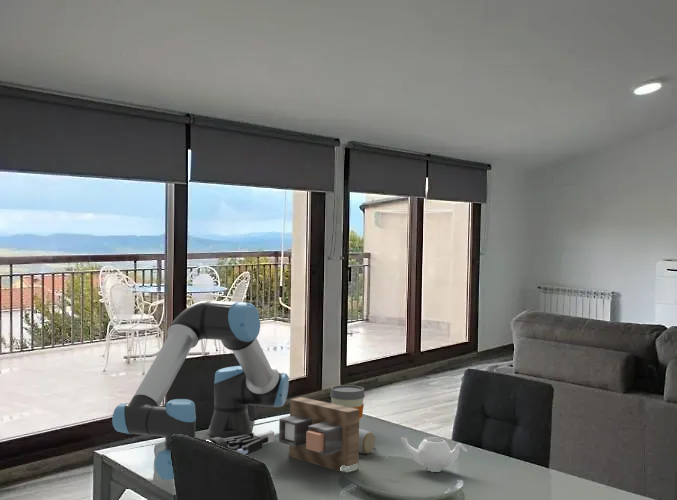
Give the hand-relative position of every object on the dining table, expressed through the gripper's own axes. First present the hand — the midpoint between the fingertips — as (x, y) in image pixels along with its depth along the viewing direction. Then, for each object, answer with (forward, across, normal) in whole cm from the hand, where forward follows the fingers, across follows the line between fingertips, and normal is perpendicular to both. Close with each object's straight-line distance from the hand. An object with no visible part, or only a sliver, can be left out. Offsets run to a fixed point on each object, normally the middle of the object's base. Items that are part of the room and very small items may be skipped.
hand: (272, 436), depth 203 cm
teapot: (+33, +35, -10) cm, 50 cm away
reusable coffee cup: (+51, -13, -10) cm, 53 cm away
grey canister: (+34, +7, -11) cm, 36 cm away
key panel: (+13, +6, -10) cm, 17 cm away
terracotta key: (+6, +12, -3) cm, 14 cm away
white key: (+10, 0, -3) cm, 10 cm away
